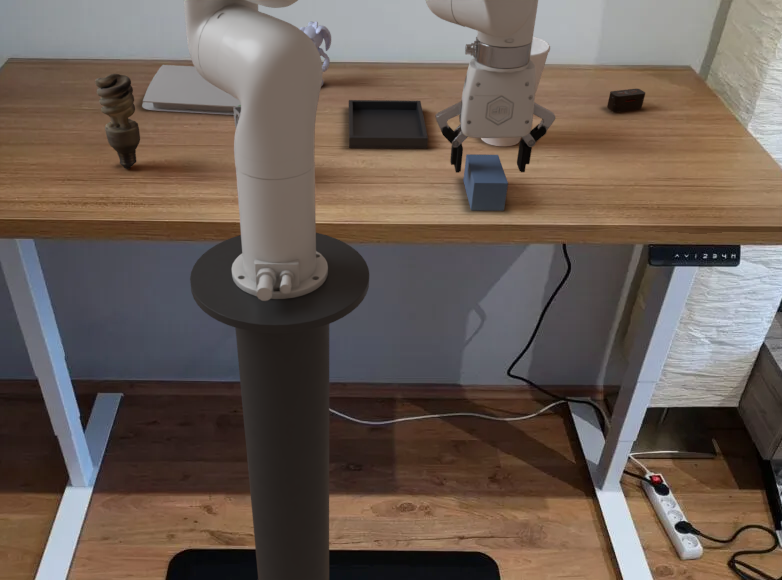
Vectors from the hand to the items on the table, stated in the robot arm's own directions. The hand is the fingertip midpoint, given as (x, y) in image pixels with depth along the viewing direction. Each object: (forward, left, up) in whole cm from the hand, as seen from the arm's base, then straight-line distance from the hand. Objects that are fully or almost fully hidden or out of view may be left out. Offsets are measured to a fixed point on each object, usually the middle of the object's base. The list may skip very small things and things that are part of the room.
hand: (488, 168), depth 122 cm
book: (+40, +48, -5) cm, 63 cm away
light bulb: (+9, +57, -5) cm, 58 cm away
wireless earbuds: (+37, -32, -5) cm, 49 cm away
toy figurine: (+48, +28, -5) cm, 56 cm away
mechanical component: (+6, +36, -5) cm, 37 cm away
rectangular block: (0, 0, -4) cm, 4 cm away
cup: (+22, -6, -5) cm, 23 cm away
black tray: (+26, +14, -4) cm, 30 cm away
